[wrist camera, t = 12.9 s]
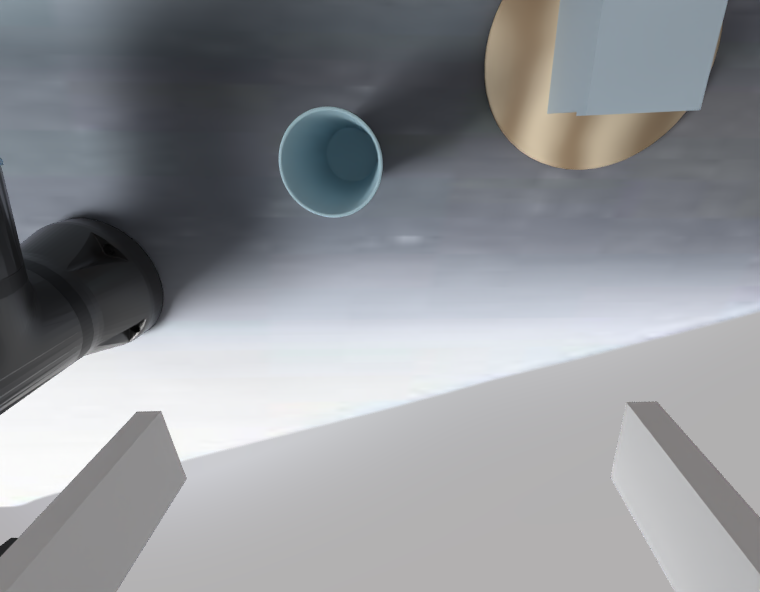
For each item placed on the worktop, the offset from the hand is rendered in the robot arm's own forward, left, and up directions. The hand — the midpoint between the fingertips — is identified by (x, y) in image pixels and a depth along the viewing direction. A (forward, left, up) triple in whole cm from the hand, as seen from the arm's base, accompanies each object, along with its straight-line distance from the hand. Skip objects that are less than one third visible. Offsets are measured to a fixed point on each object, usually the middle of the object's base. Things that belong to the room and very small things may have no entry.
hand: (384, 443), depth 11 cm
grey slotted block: (+15, +13, -30) cm, 36 cm away
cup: (-6, +6, -31) cm, 32 cm away
